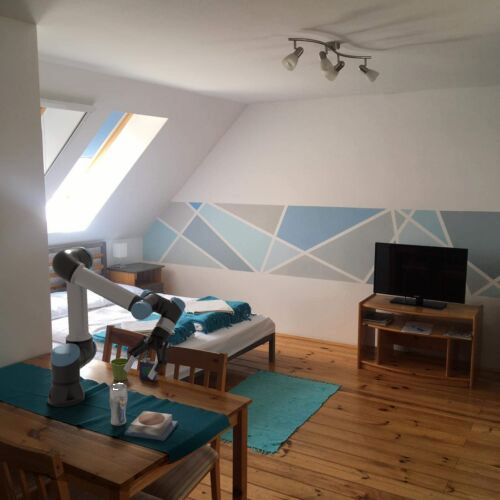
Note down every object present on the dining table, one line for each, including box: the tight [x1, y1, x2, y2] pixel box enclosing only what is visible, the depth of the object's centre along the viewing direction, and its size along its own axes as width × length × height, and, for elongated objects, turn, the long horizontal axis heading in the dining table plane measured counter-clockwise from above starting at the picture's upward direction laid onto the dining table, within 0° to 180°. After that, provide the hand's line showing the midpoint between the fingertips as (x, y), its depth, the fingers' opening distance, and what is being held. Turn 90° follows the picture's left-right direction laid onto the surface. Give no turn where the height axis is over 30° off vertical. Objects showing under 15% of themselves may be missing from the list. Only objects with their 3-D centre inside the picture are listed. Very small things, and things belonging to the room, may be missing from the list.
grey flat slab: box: [124, 420, 179, 442], centre depth 211 cm, size 16×14×1 cm
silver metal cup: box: [108, 382, 128, 427], centre depth 215 cm, size 7×7×15 cm
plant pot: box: [109, 357, 129, 382], centre depth 260 cm, size 9×9×9 cm
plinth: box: [130, 410, 173, 436], centre depth 210 cm, size 12×12×3 cm
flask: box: [139, 357, 159, 382], centre depth 260 cm, size 9×3×11 cm, turn 74°
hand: (137, 374), depth 223 cm, fingers open, 13 cm apart
